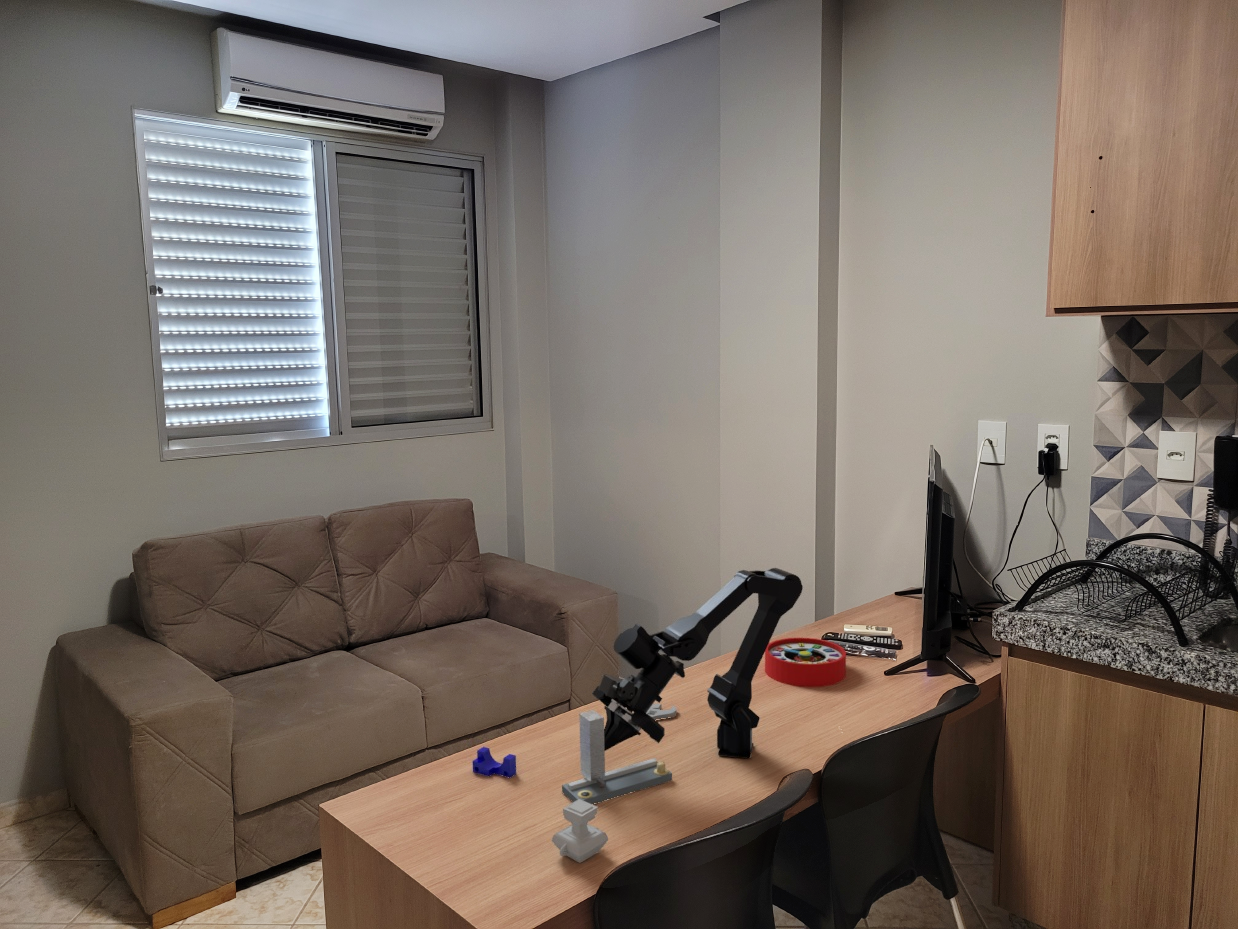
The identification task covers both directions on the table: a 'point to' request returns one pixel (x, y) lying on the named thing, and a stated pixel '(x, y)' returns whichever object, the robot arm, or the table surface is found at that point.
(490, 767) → the cable holder
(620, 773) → the plate
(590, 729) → the sliding jaw
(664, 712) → the adjustable wrench
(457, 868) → the table surface
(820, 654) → the toy clock
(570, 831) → the stamp
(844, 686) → the table surface
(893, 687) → the table surface
